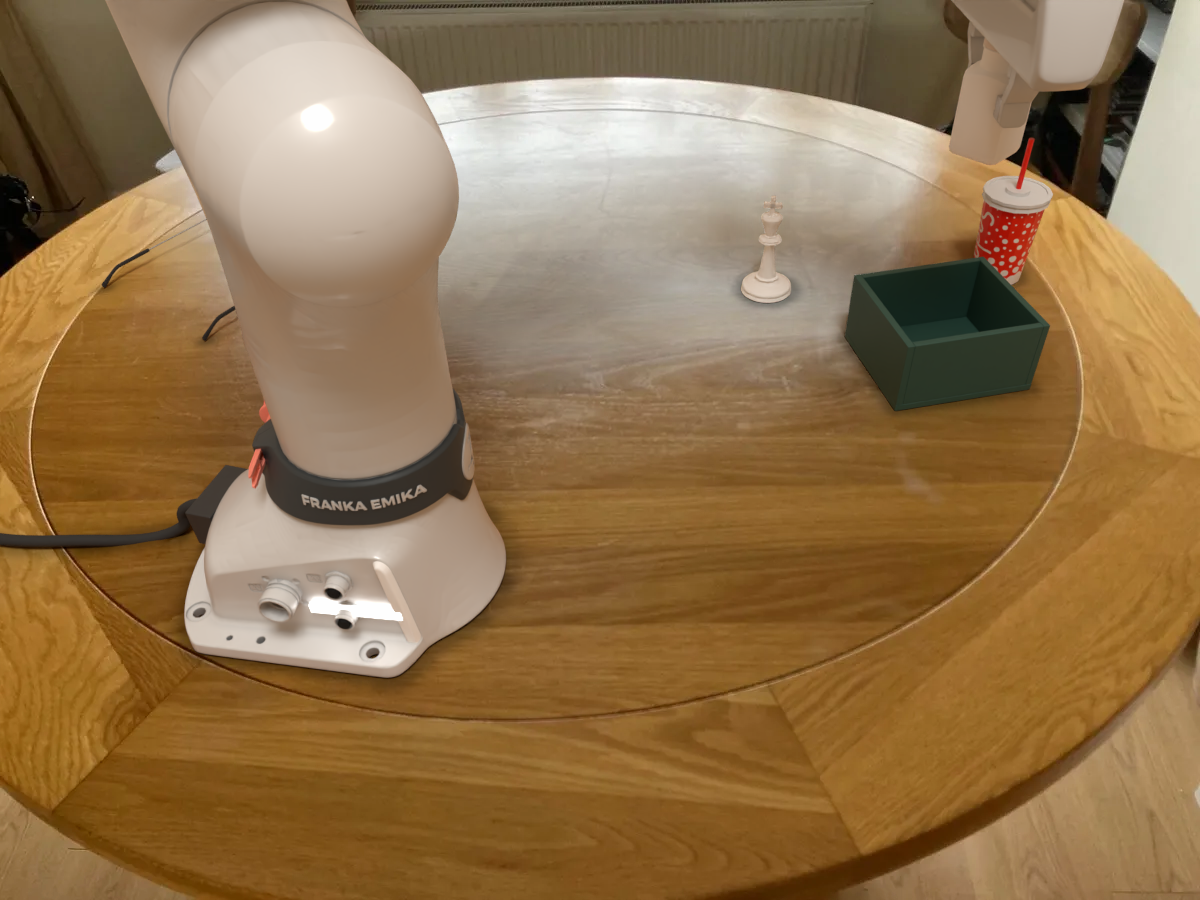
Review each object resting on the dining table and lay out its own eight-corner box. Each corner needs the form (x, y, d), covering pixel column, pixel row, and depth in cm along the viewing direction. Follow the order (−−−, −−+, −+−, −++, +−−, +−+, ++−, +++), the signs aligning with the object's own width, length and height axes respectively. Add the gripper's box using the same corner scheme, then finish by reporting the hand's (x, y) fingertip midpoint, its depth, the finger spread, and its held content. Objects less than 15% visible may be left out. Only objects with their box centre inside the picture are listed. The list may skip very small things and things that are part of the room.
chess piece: (789, 305, 93) (799, 211, 86) (738, 301, 94) (744, 208, 87) (792, 278, 97) (802, 186, 90) (743, 274, 97) (749, 183, 91)
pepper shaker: (992, 170, 69) (1026, 33, 62) (943, 154, 71) (971, 20, 65) (1022, 152, 71) (1057, 17, 64) (973, 136, 73) (1002, 5, 67)
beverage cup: (965, 254, 99) (997, 121, 89) (1028, 262, 97) (1068, 128, 88) (961, 285, 94) (994, 149, 85) (1027, 294, 93) (1068, 156, 83)
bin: (894, 411, 80) (908, 347, 76) (844, 336, 89) (853, 274, 84) (1029, 389, 82) (1050, 325, 77) (967, 317, 90) (983, 256, 86)
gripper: (945, -147, 67) (911, 55, 76) (1052, -70, 52) (994, 170, 61) (1036, -152, 67) (991, 51, 76) (1170, -76, 52) (1094, 166, 61)
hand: (993, 105), depth 68 cm, fingers closed on pepper shaker, 5 cm apart
